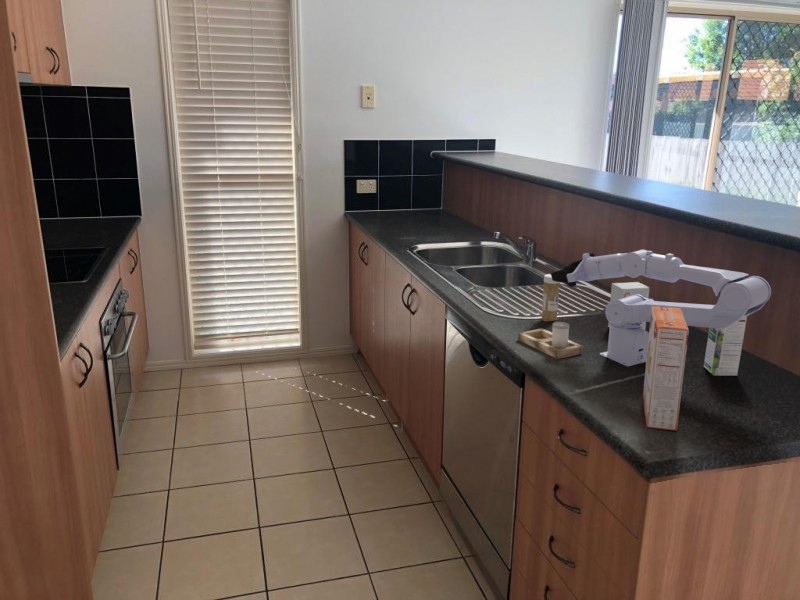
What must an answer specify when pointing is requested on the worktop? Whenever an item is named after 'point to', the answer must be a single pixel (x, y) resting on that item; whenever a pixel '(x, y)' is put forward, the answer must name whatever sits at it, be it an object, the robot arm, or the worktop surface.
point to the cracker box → (664, 367)
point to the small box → (628, 292)
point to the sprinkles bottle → (550, 299)
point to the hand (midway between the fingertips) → (561, 272)
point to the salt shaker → (560, 335)
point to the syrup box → (725, 349)
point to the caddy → (548, 343)
